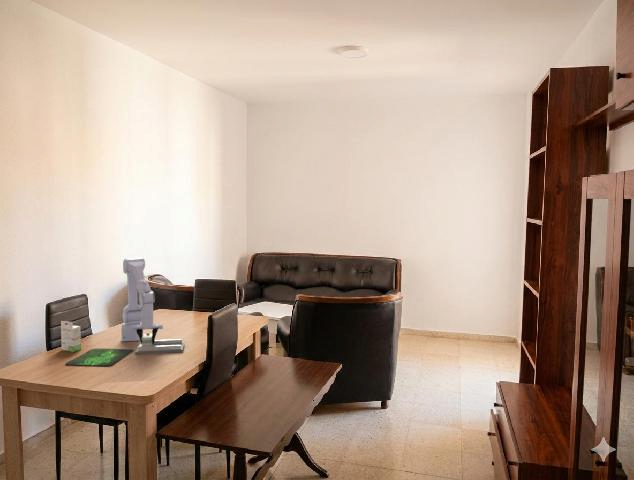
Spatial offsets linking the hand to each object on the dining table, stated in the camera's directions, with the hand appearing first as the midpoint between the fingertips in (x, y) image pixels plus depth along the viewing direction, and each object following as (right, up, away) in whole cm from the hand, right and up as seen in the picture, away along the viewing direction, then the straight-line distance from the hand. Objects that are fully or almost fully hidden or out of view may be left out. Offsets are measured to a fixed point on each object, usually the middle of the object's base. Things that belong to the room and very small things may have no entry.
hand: (147, 343), depth 254 cm
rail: (+6, -2, +1) cm, 6 cm away
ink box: (-38, -3, 0) cm, 38 cm away
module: (0, -2, 0) cm, 2 cm away
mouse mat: (-18, -5, -12) cm, 22 cm away
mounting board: (+6, -3, +1) cm, 7 cm away
